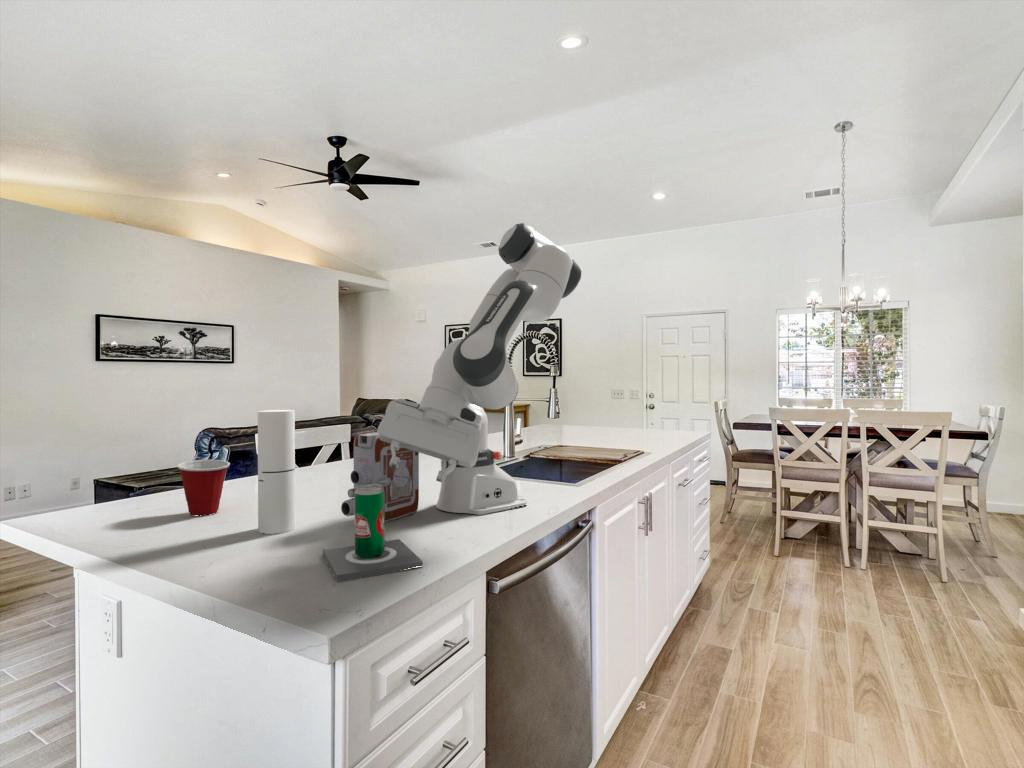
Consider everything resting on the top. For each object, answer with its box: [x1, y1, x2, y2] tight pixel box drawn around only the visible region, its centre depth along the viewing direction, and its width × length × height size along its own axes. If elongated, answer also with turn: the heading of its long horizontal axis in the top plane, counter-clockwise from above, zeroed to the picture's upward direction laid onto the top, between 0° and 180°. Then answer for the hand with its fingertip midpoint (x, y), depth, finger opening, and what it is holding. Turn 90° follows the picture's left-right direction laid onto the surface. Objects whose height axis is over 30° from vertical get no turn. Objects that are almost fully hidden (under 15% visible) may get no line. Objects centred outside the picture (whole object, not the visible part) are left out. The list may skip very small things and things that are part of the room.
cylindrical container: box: [257, 409, 296, 535], centre depth 114 cm, size 7×7×25 cm
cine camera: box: [340, 430, 420, 523], centre depth 122 cm, size 9×19×20 cm, turn 146°
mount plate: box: [322, 539, 424, 582], centre depth 94 cm, size 14×14×1 cm
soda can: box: [353, 484, 386, 559], centre depth 94 cm, size 5×5×12 cm
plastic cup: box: [176, 459, 231, 517], centre depth 127 cm, size 11×11×12 cm
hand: (416, 473), depth 103 cm, fingers open, 8 cm apart
